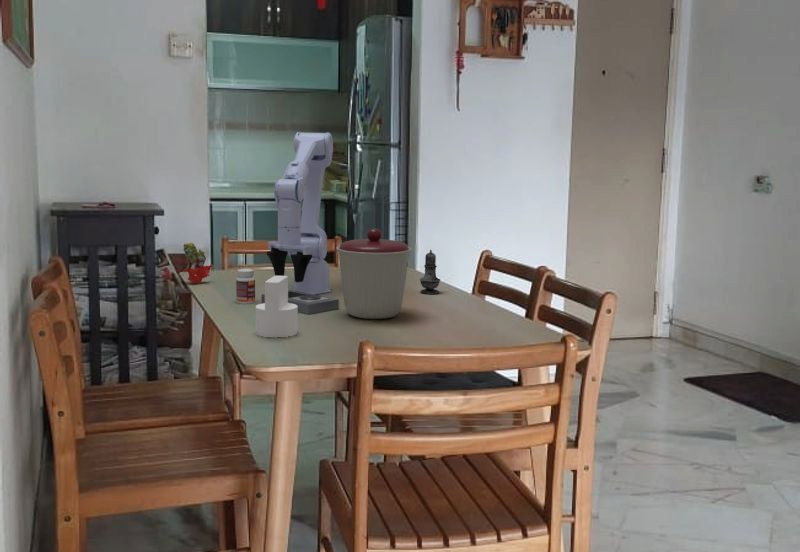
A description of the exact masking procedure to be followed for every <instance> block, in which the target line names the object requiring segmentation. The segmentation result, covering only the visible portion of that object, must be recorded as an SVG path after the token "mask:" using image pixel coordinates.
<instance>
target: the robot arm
mask: <svg viewBox="0 0 800 552" xmlns="http://www.w3.org/2000/svg"><path fill="white" fill-rule="evenodd" d="M293 150H294V153H295V157H294V160H291V161H290V162H289V163H288V165H287V167H286V168H285V171H284V174H283V175H282V178H279V179H278V180H276V181H275V183H274V189H273V195H274V199H275V207H276V208H275V209H277V241H276V240H272V241H271V240H270V241H268V242H267V244H268V245H267V246H268V247H267V251H266V255H267V256H268V259H269V260H270V263H271V265H272V268H273V272H274V276H285V270H286V261H287V257H288V256H289V258H290V259H291V263H292V265H293V276H294V277H293V279H294V280H293V281H294V282H293V287H294V288H293V289H292V290H296V291H300V292H305V293H310V294H315V295H320V294H325V293H327V294H328V293H332V289H330V266H329V264H328V262H327V261H326V260H324V259H325V258H326V256H327V252H328V236H327V234H326V232H325V230H324V229H322V228H321V227H320V226H319V221H320V212H321V211H320V210H321V202H322V201H321V200H322V193H323V183H324V175H325V172H326V171H325V170H326V168H328V167H329V166H331V164H332V160H333V153H334V152H333V150H334V140H333V136H332V134H331V132H301V131H297V132H296V134H294V138H293ZM301 203H302V206H301ZM268 250H269V251H268Z"/></svg>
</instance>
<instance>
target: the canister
mask: <svg viewBox="0 0 800 552" xmlns="http://www.w3.org/2000/svg"><path fill="white" fill-rule="evenodd" d="M382 234H383V233H382V231H381V230H380V229H379V228H369V229H368V230H367V232H366V237H367V238H360V239H350V240H347V241H344V242H342V243H341V244H340V245H337V246H336V248H335V250H336V251H337V252H338V256H339V257H338V258H339V267H340V277H341V279H340V280H341V288H342V296H343V304H344V307H345V310H346V312H347V313H348V314H349V315H351V316H352V317H355V318H358V319H359V318H360V319H366V320H381V319H382V320H383V319H384V320H385V319H389V318H393V317H395V316H397V315H398V314H399V312H401V309H402V306H403V301H404V300H403V299H404V295H405V294H404V293H405V286H406V280H407V271H408V264H409V256H410V253H411V252H412V251H413V249H412V247H410V246H408V245H407V244H406V243H405V242H402V241H399V240H393V239H387V238H386V239H384V238H382Z"/></svg>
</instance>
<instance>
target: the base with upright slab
mask: <svg viewBox="0 0 800 552" xmlns="http://www.w3.org/2000/svg"><path fill="white" fill-rule="evenodd" d="M288 290H289V276H288V275H284V276H275V275H273V276H272V277H270V278H269V279H267V280H266V281H265V282H264V294H265V303H263V304H262V303H259V304H256V305H255V334H257V335H256V336H258V335H260V336H259V337H261V336H264V337H263V338H266V337H286V338H289V337H288V336H292V335H295V334H297V335H298V333H297V332H299V331H298V323H299V321H298V320H299V319H298V317H299V316H298V315H299V314H298V313H299V312H298V306H297V305H295V304H292V303H288ZM295 336H296V335H295ZM292 337H293V336H292Z"/></svg>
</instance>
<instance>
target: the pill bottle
mask: <svg viewBox="0 0 800 552" xmlns="http://www.w3.org/2000/svg"><path fill="white" fill-rule="evenodd" d="M254 271H255V270H254V269H249V268H243V269H241V268H240V269H238V270H237V277H236V279H235V287H236V288H235V289H236V290H235V291H236V298H235V299H236V303H237V304H243V305H247V304H250V305H251V304H254V303H256V278H255V277H254V275H255V274H254V273H255V272H254Z"/></svg>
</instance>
